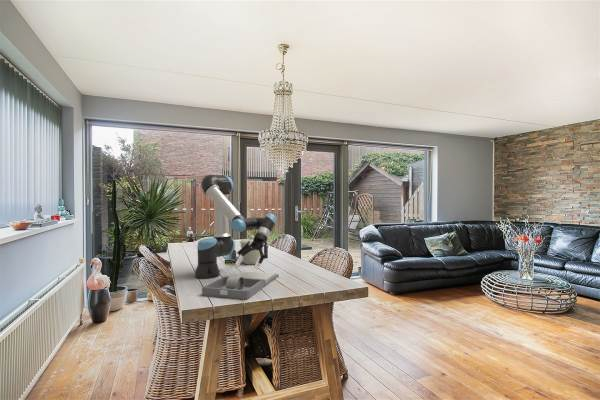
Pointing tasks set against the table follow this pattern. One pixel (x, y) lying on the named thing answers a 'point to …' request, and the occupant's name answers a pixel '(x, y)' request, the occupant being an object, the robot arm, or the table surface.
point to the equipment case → (251, 279)
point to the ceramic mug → (235, 283)
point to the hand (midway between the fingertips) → (246, 266)
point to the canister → (252, 255)
